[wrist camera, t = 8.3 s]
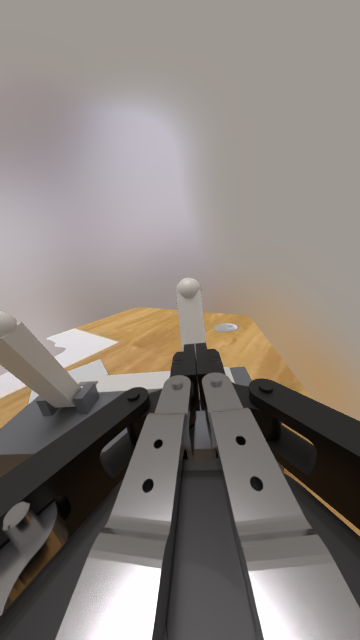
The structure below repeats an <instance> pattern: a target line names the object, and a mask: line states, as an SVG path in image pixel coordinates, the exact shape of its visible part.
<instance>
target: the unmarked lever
mask: <svg viewBox="0 0 360 640" xmlns="http://www.w3.org/2000/svg"><path fill="white" fill-rule="evenodd" d="M0 365H2V366H3V367H4V368H5V369H7V370H8V371H9V372H10V373H12V374H13V375H14V376H15V377H17V378H18V379H19V380H20V381H22V382H23V383H24V384H25V385H27V386H28V387H29V388H31V389H32V390H33V391H34V392H36V393H37V394H38V395H39V396H41V397H42V398H43V399H44V400H46V401H47V402H48V403H49V404H51V405H52V406H53V407H55V408H60V407H76V406H75V404H74V401H73V398H74V397H75V396H76V394H77V393H78V392H79V391H80V390H81V389H82V388H81V387H80V386H79V384H78V383H77V382H76V381H75V380H74V379H73V378H72V377H71V376H70V375H69V373H68V372H67V371H66V370H65V369H64V368H63V367H62V366H61V365H60V364H59V363H58V361H57V360H56V359H55V358H54V357H53V356H52V355H51V354H50V353H49V352H48V350H47V349H46V348H45V347H44V346H43V345H42V344H41V343H40V342H39V341H38V340H37V338H36V337H35V336H34V335H33V334H32V333H31V332H30V331H29V330H28V329H27V328H26V327H25V325H24V324H23V323H22V322H17V320H16V319H15V318H14V317H13V316H12V315H10V314H9V313H6V312H4V311H0Z"/></svg>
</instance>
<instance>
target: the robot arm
mask: <svg viewBox="0 0 360 640" xmlns="http://www.w3.org/2000/svg"><path fill="white" fill-rule="evenodd" d="M195 347H196V353H195ZM198 385H199V386H198ZM199 393H200V400H199ZM200 402H201V411H205V415H206V424H207V430H208V435H209V441H210V446H211V451H212V456H213V460H210V461H207V462H204V463H198V462H195V443H196V411H200ZM282 423H284V424H285V425H287V426H288V427H290V428H291V429H293V430H295V431H296V432H298V433H299V434H301V435H303V436H304V437H306V438H307V439H308V440H310V441H311V442H312V443H313V445H312V444H310V443H309V442H307V441H306V440H304V439H303V438H301V437H300V436H298V435H296V434H295V433H293V432H292V431H290V430H289V429H287V428H286V427H284V426H283V425H282ZM126 428H127V433H126V434H125V435H123V436H122V437H121V438H120V439H119V440H118V441H117V442H116V443H114V444H113V445H112V446H111V447H110V448H109V449H108V450H106V451H105V452H104V453H103V454H102V455H100V454H101V451H102V449H103V448H104V447H105V446H106V445H107V444H108V443H109V442H110V441H111V440H113V439H114V438H115V437H116V436H117V435H118V434H120V433H121V432H122V431H123V430H124V429H126ZM277 462H278V463H279V464H281V465H282V466H283V467H284V468H285V469H287V470H288V471H289V472H290V473H292V474H293V475H294V476H295V477H296V478H298V479H299V480H300V481H301V482H302V483H304V484H305V485H306V486H307V487H309V488H310V489H311V490H312V491H313V492H315V493H316V494H317V495H318V496H319V497H321V498H322V499H323V500H324V501H325V502H327V503H328V504H329V505H330V506H332V507H333V508H334V509H335V510H336V511H338V512H339V513H340V514H341V515H342V516H344V517H345V518H346V519H347V520H348V521H350V522H351V523H352V524H353V525H355V526H356V527H357V528H358V529H359V530H360V421H358V420H356V419H353V418H351V417H349V416H347V415H345V414H343V413H341V412H338V411H336V410H334V409H331V408H330V407H328V406H326V405H323V404H321V403H319V402H317V401H315V400H313V399H311V398H308V397H306V396H304V395H302V394H300V393H298V392H296V391H293V390H291V389H289V388H287V387H285V386H283V385H281V384H278V383H276V382H274V381H272V380H268V379H255V380H253V381H251V382H250V384H249V386H243V385H238V384H235V383H233V382H231V380H230V379H229V377H228V376H226V374H225V371H224V367H223V364H222V361H221V358H220V355H219V352H218V351H216V350H215V349H207V347H206V342H205V343H195V344H184V351H183V352H177V353H176V354H175V355H174V356H173V362H172V367H171V372H170V378H168V379H167V380H166V381H165V383H164V385H163V388H162V389H160V390H158V391H155V392H152V393H149V394H148V391H147V389H145V388H143V387H134V388H131V389H129V390H127V391H126V392H124V393H123V394H121V395H120V396H118V397H117V398H115V399H114V400H112V401H111V402H109V403H108V404H107V405H105V406H104V407H102V408H101V409H99V410H98V411H96V412H95V413H93V414H92V415H91V416H89V417H88V418H86V419H85V420H83V421H82V422H80V423H79V424H77V425H76V426H74V427H73V428H72V429H70V430H69V431H67V432H66V433H64V434H63V435H61V436H60V437H58V438H57V439H56V440H54V441H53V442H51V443H50V444H48V445H47V446H45V447H44V448H42V449H41V450H39V451H38V452H37V453H35V454H34V455H32V456H31V457H29V458H28V459H26V460H25V461H23V462H22V463H21V464H19V465H18V466H16V467H15V468H13V469H12V470H10V471H9V472H7V473H6V474H4V475H3V476H2V477H0V640H360V536H359V535H357V534H356V533H355V532H354V531H353V530H352V529H351V528H349V527H348V526H347V525H346V524H345V523H344V522H343V521H341V520H340V519H339V518H338V517H337V516H336V515H335V514H333V513H332V512H331V511H330V510H329V509H328V508H327V507H326V506H324V505H323V504H322V503H321V502H320V501H319V500H318V499H316V498H315V497H314V496H313V495H312V494H311V493H310V492H308V491H307V490H306V489H305V488H304V487H303V486H301V485H300V484H299V483H298V482H296V481H295V480H294V479H292V478H291V477H289V476H288V475H286V474H284V473H283V472H282V471H281V469H280V467H279V465H278V463H277Z"/></svg>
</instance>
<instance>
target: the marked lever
mask: <svg viewBox="0 0 360 640" xmlns="http://www.w3.org/2000/svg"><path fill="white" fill-rule="evenodd" d="M176 293H177V302H178V314H179V325H180V335H181V346H182V352H183V351H184V344H195V343H205V342H206V338H205V328H204V318H203V308H202V298H201V287H200V284H199V283H198V281H196V280H195V279H192V278H185V279H183V280H181V281H180V282H179V283H178V285H177V288H176ZM195 353H196V347H195ZM198 386H199V385H198ZM199 400H200V393H199Z"/></svg>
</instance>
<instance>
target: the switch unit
mask: <svg viewBox="0 0 360 640" xmlns="http://www.w3.org/2000/svg"><path fill="white" fill-rule="evenodd" d="M224 371H225V374H226V376H228V377H229V379H230V380H231V382H233V383H235V384H238V385H243V386H249V384H250V382H251V381H252V380H251V378H250V376H249V374H248V372H247V370H246V368H245V367H235V368H229V367H224ZM170 372H171V371H163V372H149V373H135V374H121V375H107V376H93V377H79V378H73V379H74V380H75V381H76V382H77V383H78V384H79V386H80V387H81V388H82V389H81V390H80V391H79V392H78V393H77V394H76V396H75V397H74V398H73V401H74V404H75V406H76V407H60V408H55V407H53V406H52V405H51V404H49V403H48V402H47V401H46V400H44V399H43V398H42V397H41V396H37V397H36V398H35V399H34V400H33V401H32V402H31V403H29V404H28V405H27V406H26V407H25V408H24V409H23V410H22V411H20V412H19V413H18V414H17V415H16V416H15V417H14V418H12V419H11V420H10V421H9V422H8V423H7V424H6V425H4V426H3V427H2V428H1V429H0V477H2V476H3V475H4V474H6V473H7V472H9V471H10V470H12V469H13V468H15V467H16V466H18V465H19V464H21V463H22V462H23V461H25V460H26V459H28V458H29V457H31V456H32V455H34V454H35V453H37V452H38V451H39V450H41V449H42V448H44V447H45V446H47V445H48V444H50V443H51V442H53V441H54V440H56V439H57V438H58V437H60V436H61V435H63V434H64V433H66V432H67V431H69V430H70V429H72V428H73V427H74V426H76V425H77V424H79V423H80V422H82V421H83V420H85V419H86V418H88V417H89V416H91V415H92V414H93V413H95V412H96V411H98V410H99V409H101V408H102V407H104V406H105V405H107V404H108V403H109V402H111V401H112V400H114V399H115V398H117V397H118V396H120V395H121V394H123V393H124V392H126V391H127V390H129V389H131V388H134V387H143V388H145V389H147V391H148V394H149V393H152V392H155V391H158V390H160V389H162V388H163V385H164V383H165V381H166V380H167V379H168V378H170ZM126 433H127V428H126V429H124V430H123V431H122V432H121V433H120V434H118V435H117V436H116V437H115V438H114V439H113V440H111V441H110V442H109V443H108V444H107V445H106V446H105V447H104V448H103V449H102V451H101V454H100V455H102V454H103V453H104V452H105V451H106V450H108V449H109V448H110V447H111V446H112V445H113V444H114V443H116V442H117V441H118V440H119V439H120V438H121V437H122V436H123V435H125V434H126ZM210 460H213V456H212V451H211V446H210V441H209V435H208V430H207V424H206V415H205V411H201V402H200V411H196V443H195V462H198V463H204V462H207V461H210ZM277 463H278V462H277ZM278 465H279V467H280V469H281V471H282V472H283V471H284V467H283V466H282V465H281V464H279V463H278Z"/></svg>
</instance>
